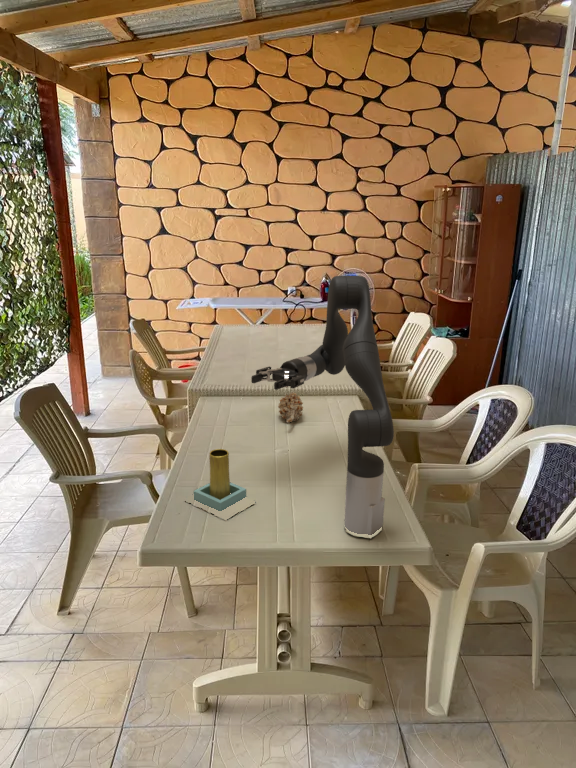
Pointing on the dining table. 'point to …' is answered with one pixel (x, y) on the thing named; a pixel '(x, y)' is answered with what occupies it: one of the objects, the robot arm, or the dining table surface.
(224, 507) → the dock
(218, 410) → the dining table surface
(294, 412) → the pine cone
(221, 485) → the vase
